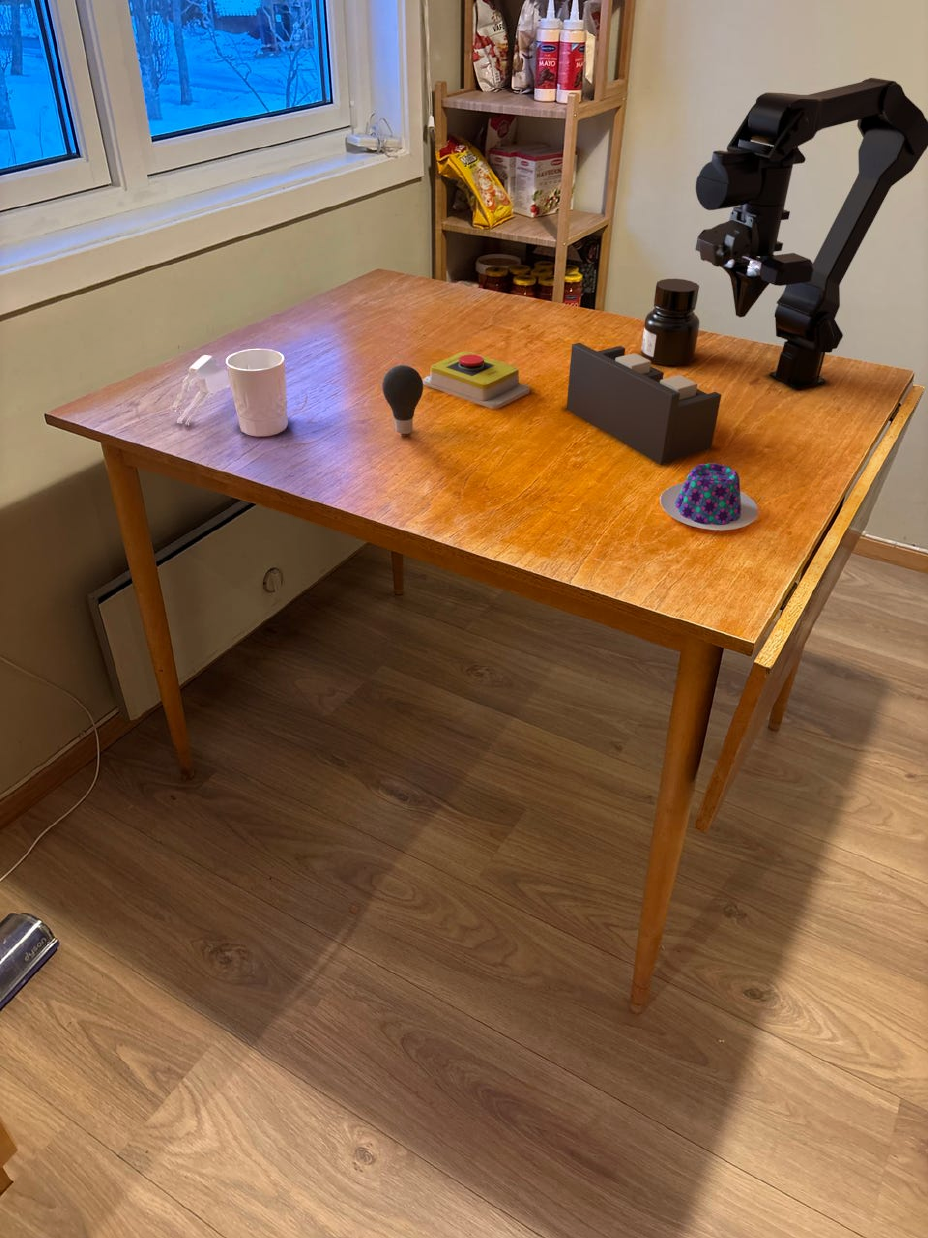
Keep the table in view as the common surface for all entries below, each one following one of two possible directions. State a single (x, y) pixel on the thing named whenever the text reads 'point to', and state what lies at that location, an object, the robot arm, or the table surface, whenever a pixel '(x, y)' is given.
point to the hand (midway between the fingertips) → (740, 316)
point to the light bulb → (403, 395)
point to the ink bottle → (672, 323)
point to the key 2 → (681, 386)
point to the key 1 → (635, 362)
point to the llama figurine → (202, 384)
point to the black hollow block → (638, 406)
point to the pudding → (710, 499)
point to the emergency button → (477, 380)
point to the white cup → (259, 391)
